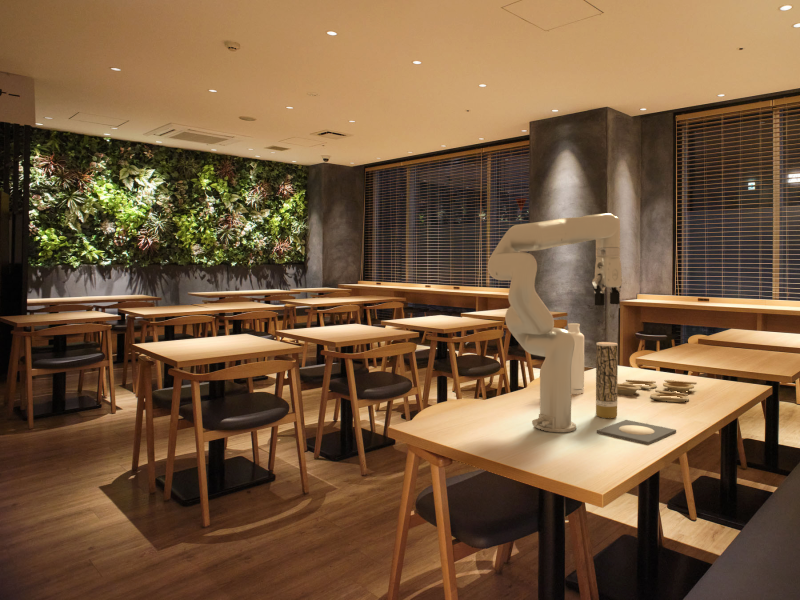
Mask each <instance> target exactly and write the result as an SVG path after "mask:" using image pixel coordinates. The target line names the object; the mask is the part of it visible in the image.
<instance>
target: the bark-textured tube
mask: <svg viewBox="0 0 800 600" xmlns="http://www.w3.org/2000/svg"><path fill="white" fill-rule="evenodd" d="M595 346H596V347H595V351H596V353H595V415H596V416H597V417H599V418H602V419H615V418H617V417H618V393H617V384H618V370H619V368H618V364H619V363H618V361H619V359H618V357H619V356H618V355H619V354H618V353H619V352H618V351H619V349H618V348H619V345H618V343H617V342H612V341H609V342H608V341H599V342H596V345H595Z"/></svg>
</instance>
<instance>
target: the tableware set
mask: <svg viewBox="0 0 800 600" xmlns="http://www.w3.org/2000/svg"><path fill="white" fill-rule="evenodd" d="M633 384H645V385H649V386H642V385H633ZM695 385H698V383H697V382H696V381H682V380H680V381H679V380H675V379H674V380H672V379H665V380H664V382H663V383H662V386H663V387H664V388H667V389H668V391H667V390H660V389H656V388H658V385H657V384H656V381H655V380H636V379H625V382H623V383H617V395H624V396H632V395H635V394H636V392H637V391H639V390H645V389H646V390H652V389H655V393H651V394H650V398H651V399H652V400H657V401H661V402H666V401H667V402H668V403H686V402H689V401H690V398H689V394H688V393H676V392H671V391H677V392H686V391H688V392H689V390H692V389H694V388H695ZM669 390H670V391H669ZM660 396H677V397H680V398H671V397H660ZM685 401H686V402H685ZM667 402H666V403H667Z"/></svg>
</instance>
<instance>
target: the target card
mask: <svg viewBox="0 0 800 600" xmlns="http://www.w3.org/2000/svg"><path fill="white" fill-rule="evenodd" d="M599 433H600V434H601V435H605V436H608V437H612V436H613V438H617V439H621V438H622V440H627V441H630V440H631V442H634V441H635V442H636V443H640V444H644V445H651V444H653V443H655V442H657V441H658V442H659V440H663V439H664V438H667V437H669V436H671V435H673V434H676V433H677V429H674V428H668V427H666V426H665V427H664V426H660V425H653V424H649V423H643V422H639V421H635V420H634V421H633V420H628V419H623V420H621V421H619V422H616V423H613V424H611V425H608V426H605V427H602V428H599V429H597V430H596V434H599ZM600 434H599V435H600Z"/></svg>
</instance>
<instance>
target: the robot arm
mask: <svg viewBox="0 0 800 600" xmlns="http://www.w3.org/2000/svg"><path fill="white" fill-rule="evenodd" d="M620 237H621V220H620V218H619V217H618V216H615V215H614V214H612V213H609V212H608V213H596V214H589V215H584V216H581V217H580V216H579V217H560V218H554V219H550V220H543V221H537V222H530V223H522V224H515V225H513V226H511V227H509V229H508V230H507V231H506V232H505V233H504V235H503V236H502V238H501V239H500V241H499V242H498V244H497V245H496V247H495V248H494V250H493V252H492V253H491V255H490V256H489V259H488V262H487V272H488V274H489V276H490V277H492V278H493V279H495V280H496V281H497V280H498V281H510V285H509V290H508V298H507V299H508V302H509V305H510V306H509V307H508V308H507V310H506V312H505V315H504V316H505V319H504V320H505V325H506V327H507V329H508V331H509V332H510V333H511V335H512V336H513V337H514V338H515V340H516V341H517V342H518V343H519V345H520V346H521V348H522V349H523V350H524V351H525V352H527V353H528V354H529V355H533V356H539V357H544V361H543V363H542V364H541V367H540V369H539V370H540V371H539V413H538V418H536V419H533V420H532V421H531V424H532V426H534V427H535V428H536V429H538V430H540V429H541V431H543V430H544V432H549V433H570V432H572V431H573V432H574V431H576V429H577V424H576V423H575V422H573V421H572V394H571V365H572V357H573V352H574V347H575V341H574V337H573V336H572V334H571V333H570V332H568V329H567V330H566V329H565V328H559V327H554V326H555V320H554V316H553V314H552V313H551V311H550V310H549V308H548V307H547V306H546V304H545V303H544V301H543V300H542V299H541V298H540V296H539V294H538V293H537V291H536V288H535V282H536V277H537V271H538V263H537V260H536V258H535V256H534V255H533V254H531V253H529V252H534V251H542V250H546V249H550V248H555V247H556V248H558V247H562V246H567V245H575V244H579V243H584V242H588V241H594V240H595V265H594V266H595V267H594V278H592V279H591V280H592V281H591V283H592V286H593V287H592V288H593V293H594V305H595V306H599V307H600V306H602V307H603V306H605V301H606V299H605V298H606V297H605V295H606V294H605V293H604V292H605V289H606V288H609V289H610V292H609V304H611V305H619V304H620V302H621V301H620V300H621V299H620V293H621V288H622V285H623V279H622V277H623V276H622V264H621V257H620V256H621V254H620V253H621V251H620V249H621V242H620V241H621V238H620Z"/></svg>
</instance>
